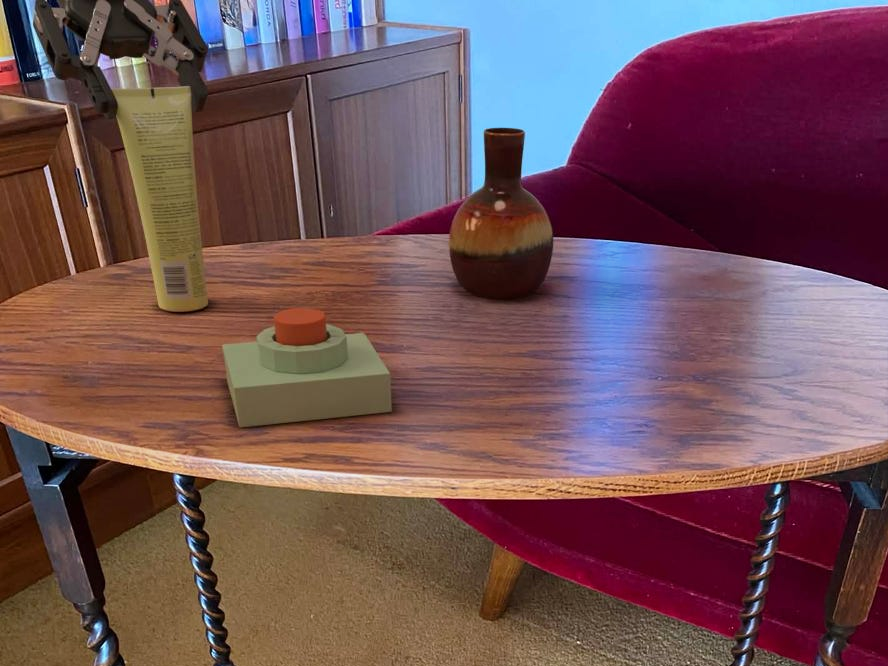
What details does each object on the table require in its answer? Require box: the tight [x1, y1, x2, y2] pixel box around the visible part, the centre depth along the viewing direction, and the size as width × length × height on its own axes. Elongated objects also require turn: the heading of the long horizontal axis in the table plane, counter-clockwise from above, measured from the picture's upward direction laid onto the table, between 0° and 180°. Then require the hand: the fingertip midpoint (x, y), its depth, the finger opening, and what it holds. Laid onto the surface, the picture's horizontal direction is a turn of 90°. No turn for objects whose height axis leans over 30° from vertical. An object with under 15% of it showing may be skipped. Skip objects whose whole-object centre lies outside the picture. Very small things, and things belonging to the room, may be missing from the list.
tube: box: [111, 86, 209, 313], centre depth 92 cm, size 6×5×20 cm
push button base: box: [221, 323, 393, 429], centre depth 78 cm, size 12×10×5 cm
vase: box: [448, 127, 554, 300], centre depth 100 cm, size 11×11×15 cm
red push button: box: [273, 307, 327, 346], centre depth 76 cm, size 4×4×2 cm
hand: (158, 109), depth 87 cm, fingers open, 8 cm apart
